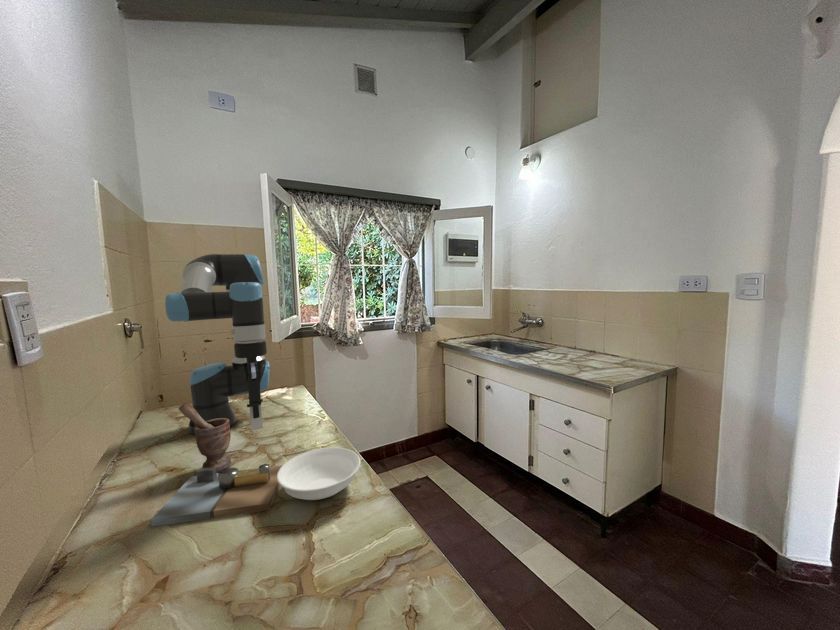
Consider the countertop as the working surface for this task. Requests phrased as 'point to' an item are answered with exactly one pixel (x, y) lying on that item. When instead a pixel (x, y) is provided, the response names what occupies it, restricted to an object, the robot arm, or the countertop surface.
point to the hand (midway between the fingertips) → (257, 428)
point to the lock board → (216, 498)
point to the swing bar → (243, 476)
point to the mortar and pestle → (210, 438)
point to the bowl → (319, 473)
